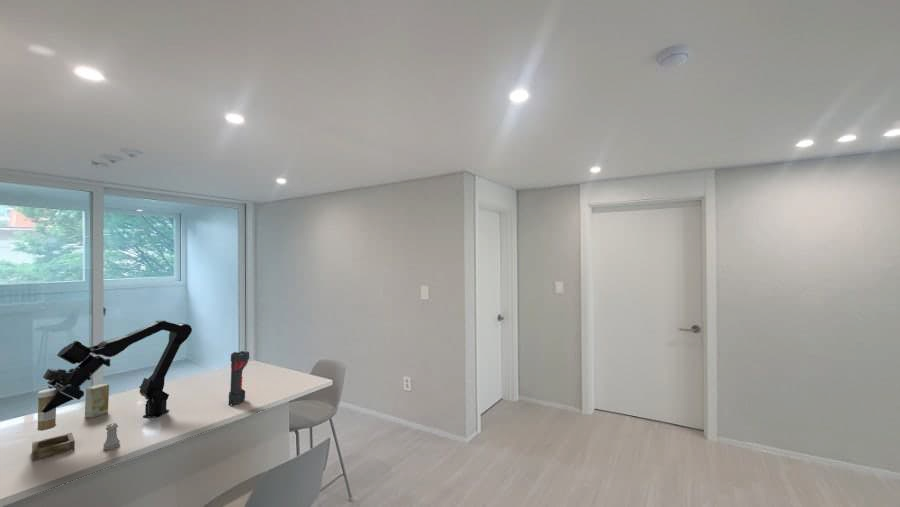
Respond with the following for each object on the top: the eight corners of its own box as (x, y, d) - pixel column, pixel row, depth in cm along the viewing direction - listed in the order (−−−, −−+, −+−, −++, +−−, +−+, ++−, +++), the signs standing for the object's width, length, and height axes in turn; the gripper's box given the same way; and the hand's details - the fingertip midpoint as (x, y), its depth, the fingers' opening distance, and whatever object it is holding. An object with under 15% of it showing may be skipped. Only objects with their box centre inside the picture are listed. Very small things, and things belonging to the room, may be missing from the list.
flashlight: (250, 397, 175) (250, 349, 176) (246, 403, 168) (247, 353, 168) (231, 399, 173) (232, 351, 173) (227, 406, 166) (228, 355, 166)
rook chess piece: (110, 444, 131) (110, 422, 131) (123, 444, 131) (123, 421, 132) (99, 451, 127) (99, 427, 127) (113, 450, 127) (113, 427, 127)
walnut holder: (71, 441, 133) (71, 432, 133) (74, 450, 127) (74, 440, 127) (32, 451, 126) (32, 442, 126) (33, 461, 120) (33, 451, 120)
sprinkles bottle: (36, 428, 129) (36, 390, 129) (55, 424, 132) (55, 386, 133) (38, 432, 126) (38, 393, 126) (57, 427, 130) (57, 389, 130)
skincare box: (92, 418, 153) (92, 388, 153) (84, 417, 154) (84, 388, 154) (109, 412, 159) (109, 383, 159) (101, 411, 160) (101, 383, 160)
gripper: (55, 355, 138) (9, 394, 128) (71, 363, 128) (23, 405, 119) (84, 371, 144) (42, 409, 135) (101, 379, 135) (58, 420, 125)
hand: (41, 410), depth 128 cm, fingers closed on sprinkles bottle, 4 cm apart
